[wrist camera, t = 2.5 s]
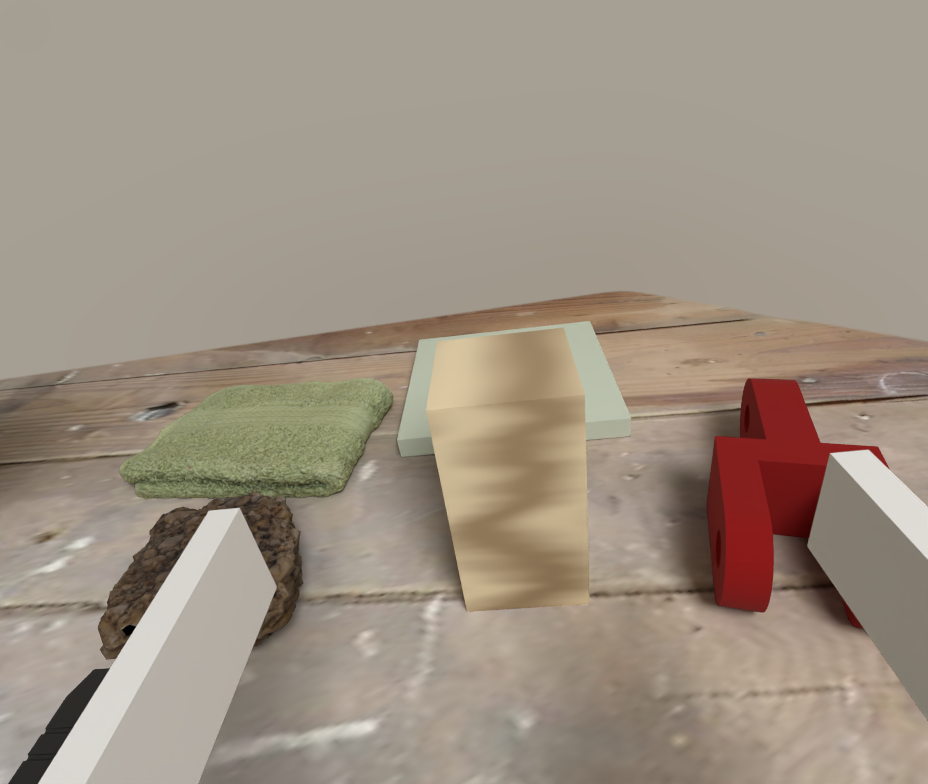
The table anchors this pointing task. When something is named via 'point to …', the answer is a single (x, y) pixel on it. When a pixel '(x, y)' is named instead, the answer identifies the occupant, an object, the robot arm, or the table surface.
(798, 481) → the mechanical linkage
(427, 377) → the sage board
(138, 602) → the brown rock
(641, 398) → the table surface
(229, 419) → the washcloth
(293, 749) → the table surface
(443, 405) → the beech block
